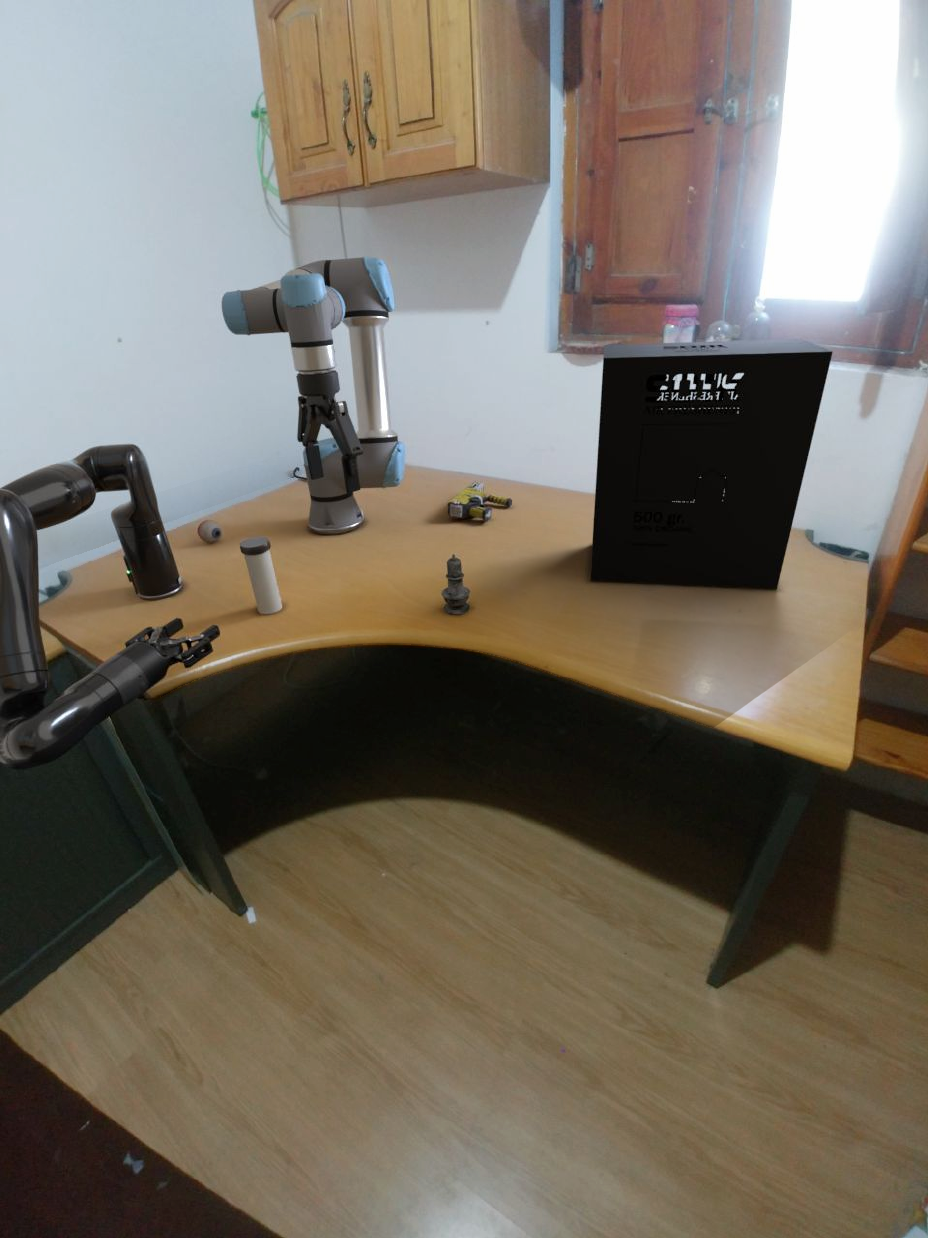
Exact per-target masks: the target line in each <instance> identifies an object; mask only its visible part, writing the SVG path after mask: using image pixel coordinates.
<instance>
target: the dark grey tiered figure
mask: <svg viewBox="0 0 928 1238" xmlns="http://www.w3.org/2000/svg"><path fill="white" fill-rule="evenodd" d="M462 567H463V566H462V561H461V559H460V558H458V557H456V555H455V554H454V553H452V555H451V557H450V558H449V559H448V560H447V561H446V569H447V570H446V574H445V578H446V579H447V587H446V588H444V589H443V590H442V591H441V596H442V598H443V600H444V602H445V603H446V604H445V605H444V607H443V608H444V611H445V612H446V613H448V614H452V615H461V614H464V613H466V612H468V611H469V610H470V608H471V606H470V604H469V603H468V600H469V598H470V595H471V590H470V589H469V588H468V587H466V586H464V579H463V578H464V577H465V574H464V573H463V568H462Z"/></svg>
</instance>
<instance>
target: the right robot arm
mask: <svg viewBox="0 0 928 1238" xmlns="http://www.w3.org/2000/svg"><path fill="white" fill-rule="evenodd" d="M395 306H396V305H395V297H394V291H393V284H392V281H391V277H390V273H389V270H388V268H387V265H386V263H385V262H384V261H383V259H381V258H379V257H366V256H362V257H351V258H338V259H323V260H316V261H312V262H309V263H307V264H303V265H300V266H299V267H296V268H294V269H291V270H288V271H287V272H286V273H285V274H284V275H283V276H282V277H281V278H280V279H278V280H274V281H271V282H269V283H267V284H264V285H263V284H262V285H260V286H258V287H254V288H252V289H243V290H241V289H236V290H231V291H226V292H225V293H223V295H222V298H221V313H222V317H223V321H224V323H225V325H226V327H227V329H228V330H229V331H230V332H231V333H232V334H233V335H237V336H239V335H243V336H245V335H246V336H251V335H265V334H266V335H267V334H280V333H284V334H285V333H288V336H289V342H290V350H291V356H292V361H293V366H294V370H295V371H296V372H298V373H297V374H296V375H295V376H296V377H295V378H296V383H297V388H298V394H299V396H297V404H298V417H297V434H296V439H297V442H298V443H302V446H303V447H304V448H303V450H302V457H303V467H304V471H305V477H304V476H299V475H297V474H296V473H297V471H300V470H301V469H300V467H298V466H296V467H295V468H294V469H293V472H292V475H293V477H294V478H296V479H299V480H304V481H307V486H308V492H309V498H310V507H309V513H308V521H307V524H308V528H309V529H308V530H310V531H311V532H312V533H314V534H317V535H323V536H324V535H325V536H327V535H329V536H331V535H339V534H340V535H341V534H345V533H350V532H353V531H355V530H357V529H359V528H361V527H362V526H363V525H364V523H365V519H364V518H365V517H364V512H363V511H364V510H363V509H362V508H360V505H359V504H358V501H357V500H356V498H355V495H354V493H355V492H358V491H361V489H386V488H395V487H398V486H400V485H401V484H402V481H403V478H404V475H405V466H406V446H405V443H404V442H403V441H401V440H399V435H398V433H397V432H395V430H394V429H393V428H392V421H391V408H390V407H391V406H390V395H389V384H388V383H389V382H388V370H387V369H388V368H387V357H386V345H385V332H384V331H385V330H384V328H385V326H387V323H389V320H390V315H389V313H392V312H394V311H395V308H396V307H395ZM341 323H343V325H344V326H345V327H346V328H347V329H348V336H349V346H350V358H351V367H352V379H353V388H354V399H355V400H354V401H355V407H356V408H355V409H356V420H357V431H356V429H355V426H354V424H353V422H352V418H351V416H350V414H349V409H348V404H347V401H345V400H341V401H337V399H336V394H338V393H339V392H340V390H341V386H340V378H339V372H338V371H337V370H335V368H336V367H337V360H336V349H335V347H334V338H333V334H332V333H333V331H332V330H334V329H336V328H337V327H338V326H339V325H340V324H341ZM322 426H324V427H325V428H326V429H328V431H329V432H330V434H331V435H332V437H329V438H325V439H320V440H318V438H319V434H320V431H321V427H322Z"/></svg>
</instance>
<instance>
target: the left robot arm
mask: <svg viewBox="0 0 928 1238" xmlns="http://www.w3.org/2000/svg"><path fill="white" fill-rule="evenodd" d="M122 491H123V492H124V491H128V492H129V496H130V499H129V500H128V501H127V502H124V503H122V504H120V505H118V506H116V507H115V508H113V509H112V510H111V511H110V518H111V521H112V523H113V526H114V530H115V532H116V534H117V537H118V540H119V543H120V545H121V549H122V551H123V556H122V558H123V561H124V564H125V568H126V570H127V571H126V572H125V574H126V576H127V579H128V582H129V583H132V587H133V589H134V591H135V594H136V595H138V596H139V598H140V599H142V600H145V601H157V600H162V599H166V598H168V597H172V596H174V595H176V594H178V593H179V592H180V591H182V590H183V588H184V583H183V581H182V580H183V577H182V574H181V573H179V569H178V566H177V564H176V563H177V562H176V560H175V557H174V553H173V551H172V547H171V544H170V541H169V538H168V535H167V532H166V528H165V526H164V522H163V520H162V516H161V513H160V511H159V504H158V499H157V494H156V491H155V488H154V484H153V479H152V476H151V472H150V468H149V463H148V461H147V458H146V456H145V454H144V452H143V451H142V449H141V448H140V447H139V446H138V445H137V444H134V443H118V444H117V443H116V444H103V445H95V446H92V447H90V448H87V449H86V450H84V451H83V452H81V453H79V454H78V455H76V456H75V457H73V458H72V459H69V460H64V461H60V462H55V463H53V464H50V465H46V466H43V467H41V468H38V469H36V470H34V471H31V472H29V473H27V474H25V475H23V476H21V477H19V478H16V479H14V480H13V481H11V482H9V483H7V484H5V485H3V486H1V487H0V763H1V764H2V765H3V766H5V767H7V768H9V769H12V770H19V771H22V770H23V771H24V770H28V769H32V768H37V767H40V766H43V765H47V764H51V763H52V762H54V761H56V760H58V759H59V758H62V757H63V756H65V754H67V753H68V752H69V751H71V750H72V749H73V748H75V747H76V745H78V744H79V743H80V742H81V741H82V740H83V739H84V738H85V737H86V736H87V735H88V734H89V733H90V732H92V730H93V729H94V728H95V727H97V726H98V725H100V724H101V723H102V722H104V721H105V720H107V719H108V718H109V717H111V716H112V715H113V714H115V713H116V712H117V711H119V710H120V709H122V708H123V707H125V706H127V705H129V704H131V703H132V702H133V701H135V700H136V699H138V698H139V697H140V696H142V695H143V694H144V693H147V691H149V690H150V689H151V688H153V687H154V686H155V685H157V684H158V683H159V682H161V681H162V680H164V678H166V676H167V674H168V671H169V669H170V667H172V666H174V665H176V664H178V663H180V664H183V667H184V669H190V668H192V667H193V666H195V665H196V664H197V663H199V662H200V661H202V660H203V659H204V658H206V657H208V656H209V655H211V654H212V653H213V652H214V649H213V646H212V645H213V644H212V642H214V641H215V640H216V639H218V638H219V637H220V636H221V631H220V628H219V625H218V624H211V626H209V627H207V628H206V629H205V630H204V631H202V632H200V633H199V634H198V635H194V636H191V637H189V636H187V635H185V636H182V637H178V638H171V637H173V636H174V635H176V634H177V633H178V632H180V631H182V630H183V629H184V627H185V626H184V623H183V619H182V618H180V617H176V618H174V619H172V620H171V621H169V622H167V623H166V624H164V625H163V626H156V627H155V628H153V626H147V627H146V628H144V629H143V630H141V631H140V632H138V633H136V634H135V635H134V636H132V637H131V638H129V639H128V640H126V641H125V642H124V646H125V647H124V648H123V649H121V650H120V651H119V652H117V653H116V654H114V655H112V656H111V657H109V658H108V659H106V660H105V661H103V662H101V663H100V664H99V665H98V666H96V667H95V668H94V669H93V670H92V671H90V672H89V673H88V674H87V675H85V676H84V677H82V678H80V679H79V680H77V681H76V682H73V684H70V686H68V687H67V688H66V689H64V690H63V691H62V692H61V693H60V694H59V695H58V698H56V699H54V700H52V701H51V702H50V703H48V704H46V705H45V697H46V695H47V694H48V693H49V691H50V689H51V687H52V686H51V685H52V684H51V683H52V682H51V681H52V680H51V674H50V669H49V664H48V659H47V656H46V655H47V654H46V650H45V646H44V641H43V635H42V629H41V620H40V595H39V594H40V574H39V573H40V572H39V571H40V570H39V540H38V539H39V538H38V531H42V530H44V529H48V528H52V527H54V526H57V525H60V524H63V523H65V522H68V521H70V520H73V519H74V518H76V517H78V516H80V515H81V514H83V513H85V512H87V511H88V510H90V508H91V507H92V506H93V505H94V503H95V501H96V497H97V494H98V493H107V492H108V493H110V492H122ZM146 637H147V638H146ZM193 643H194V645H192V644H193ZM183 644H185V645H186V648H187V649H184V646H183Z"/></svg>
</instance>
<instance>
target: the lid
mask: <svg viewBox="0 0 928 1238" xmlns="http://www.w3.org/2000/svg"><path fill="white" fill-rule="evenodd" d="M271 547H272V546H271V542H270V540H269V538H268V537H266V536H253V537H248V538H245V539H243V540H241V541H240V543H239V549H240V553H241V554H243V555H244V554H245V555H257V554H261V553H264V552H266V551H268V550H269V551H270V549H271Z"/></svg>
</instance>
